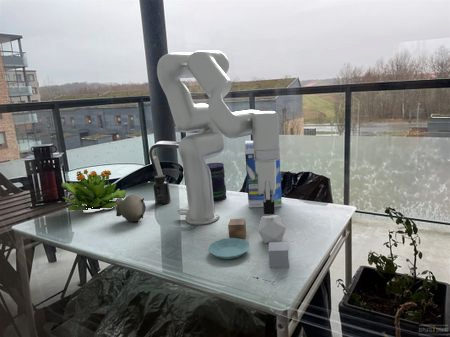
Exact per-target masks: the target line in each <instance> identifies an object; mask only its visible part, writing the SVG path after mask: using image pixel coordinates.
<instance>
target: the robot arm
mask: <svg viewBox="0 0 450 337" xmlns="http://www.w3.org/2000/svg"><path fill="white" fill-rule="evenodd" d="M156 67H157V68H156V73H157V74H156V75H157V78H158V82H159V84H160V85H159V86H161V89H162V90H163V93H164V94H165V96H166V99H167V102H168V106H169V109H170V112H171V116H172V118H173V121H174V124H175V127H176V129H177V130H178V131H180V132H181V133H190V132H195V131H200V133H198V132H197V133H195V134H189V135H187V136H184V137H183V138H182V139H181V140H180V141H179V144H178V152H179V155H180V159H181V163H182V166H183V173H184V181H185V189H186V191H185V192H186V198H187V206H186V207H185V208H183V207H182V208H178V209H177V213H178V214H179V216H185V222H186V223H187V224H190V225H196V226H197V225H200V226H201V225H207V224H211V223H214V222H216V221H217V220H219V218H220V213H219V212H218V211H216V210H215V202H214V200H213V190H212V179H211V172H210V169H209V167H208V165H207V164H208V163H207V162H206V161H205V160H207V159H210V158H215V157H217V156H220V155H221V154H222V153H223V152H224V150H225V141H224V137H226V138H228V139H238V138H242V137H243V138H244V137H247V136H252V141H253V148H254V160H255V161H258V194H259V195H261V194H263V192H264V200H263V206H264V207H263V214H264V215H275V207H274V200H273V194H275V188H276V161H277V160H279V159H280V160H281V155H280V154H281V152H280V148H281V146H280V124H279V123H280V122H279V114H278V113H277V111H274V110H256V109H247V110H238V111H234V112H232V111H231V109H230V108H229V107H228V106H227V104H226V103H225V101H224V100H223V99H224V98H225V97H226V96H228V94H229V93H230V91H231V88H232V81H231V79H230V78H229V77H228V75H227V73H228V71H229V68H230V61H229V59H228V56H227V55H226V54H225V53H223V52H222V51H220V50H196V51H194V52H171V53H166V54H164V55H163V56H161V57H160V58H159V60H158V62H157V66H156ZM188 78H189V79H190V78H194V79H195V81H196V82H197V83H198V85H199V86H200V87H201V89H202V90H203V91H204V93H205V94H206V95H207V97H208V102H207V103H194V100H193V97H192V93H191V92H190V89H189V88H188V86H186V84H185V83H183V82H182V81H181V79H188Z"/></svg>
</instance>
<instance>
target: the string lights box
mask: <svg viewBox="0 0 450 337" xmlns="http://www.w3.org/2000/svg"><path fill="white" fill-rule="evenodd" d="M244 153H245V154H244V155H245V171H246V185H247V186H246V188H247V200H248V208H264V206H263V200H264V192H263V194H261V195H259V194H258V161H255V160H254V148H253V140H245V143H244ZM273 200H274V208H276V207H282V203H283V202H282V200H283V198H282V176H281V158H280V159H279V160H277V161H276V188H275V194H273Z"/></svg>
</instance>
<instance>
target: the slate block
mask: <svg viewBox="0 0 450 337" xmlns="http://www.w3.org/2000/svg"><path fill="white" fill-rule="evenodd" d="M288 244H289V243H288V241H281V242H269V243H268V264H269V269H277V268H278V269H281V268H282V269H286V268H287V269H288V268H289V269H290V263H289V260H290V259H289V245H288Z"/></svg>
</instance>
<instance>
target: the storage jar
mask: <svg viewBox="0 0 450 337" xmlns="http://www.w3.org/2000/svg"><path fill="white" fill-rule="evenodd" d="M206 164H207V165H208V167H209V169H210V172H211V179H212V190H213V200H214V203H217V202H221V201H222V202H223V201H224V200H226V199H227V187H226V184H225V183H226V181H225V177H226V176H225V167H224V166H225V165H224V164H225V163H223V162H209V163H206Z"/></svg>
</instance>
